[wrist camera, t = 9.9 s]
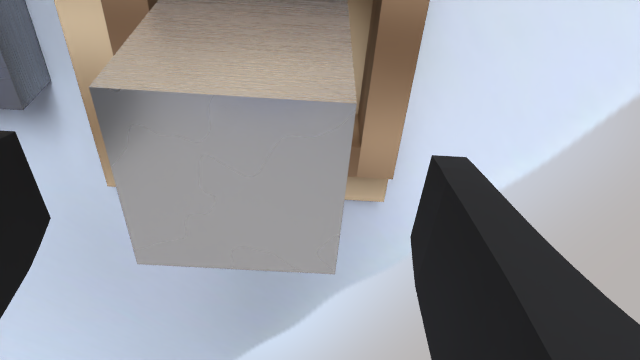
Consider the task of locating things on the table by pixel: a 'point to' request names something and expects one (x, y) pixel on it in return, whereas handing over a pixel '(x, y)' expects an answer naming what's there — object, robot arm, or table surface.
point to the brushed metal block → (232, 132)
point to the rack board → (368, 61)
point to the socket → (19, 57)
